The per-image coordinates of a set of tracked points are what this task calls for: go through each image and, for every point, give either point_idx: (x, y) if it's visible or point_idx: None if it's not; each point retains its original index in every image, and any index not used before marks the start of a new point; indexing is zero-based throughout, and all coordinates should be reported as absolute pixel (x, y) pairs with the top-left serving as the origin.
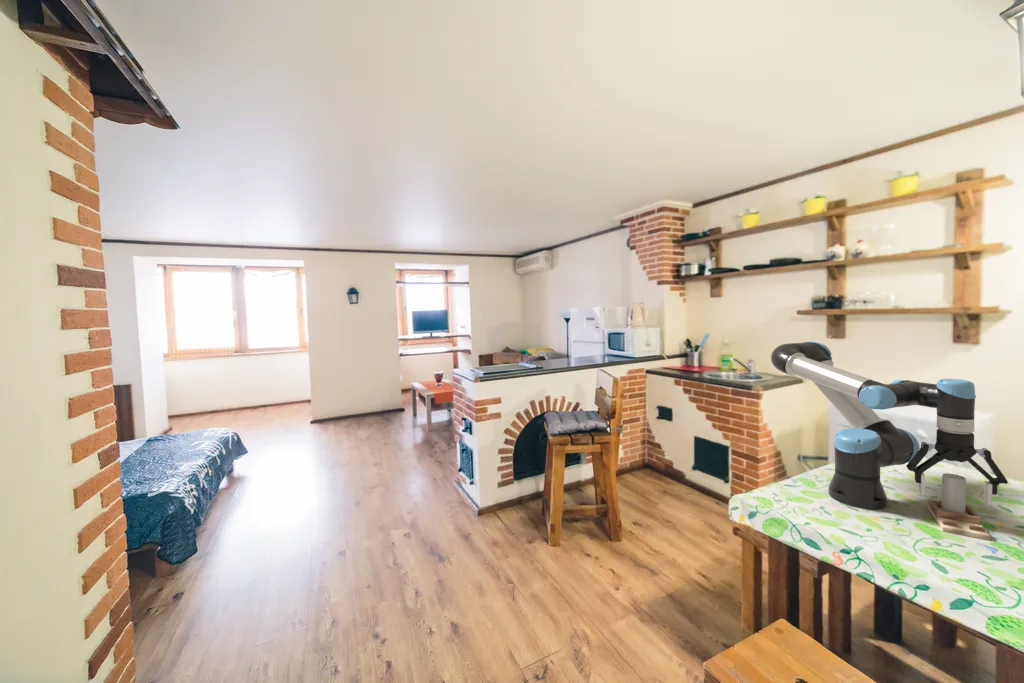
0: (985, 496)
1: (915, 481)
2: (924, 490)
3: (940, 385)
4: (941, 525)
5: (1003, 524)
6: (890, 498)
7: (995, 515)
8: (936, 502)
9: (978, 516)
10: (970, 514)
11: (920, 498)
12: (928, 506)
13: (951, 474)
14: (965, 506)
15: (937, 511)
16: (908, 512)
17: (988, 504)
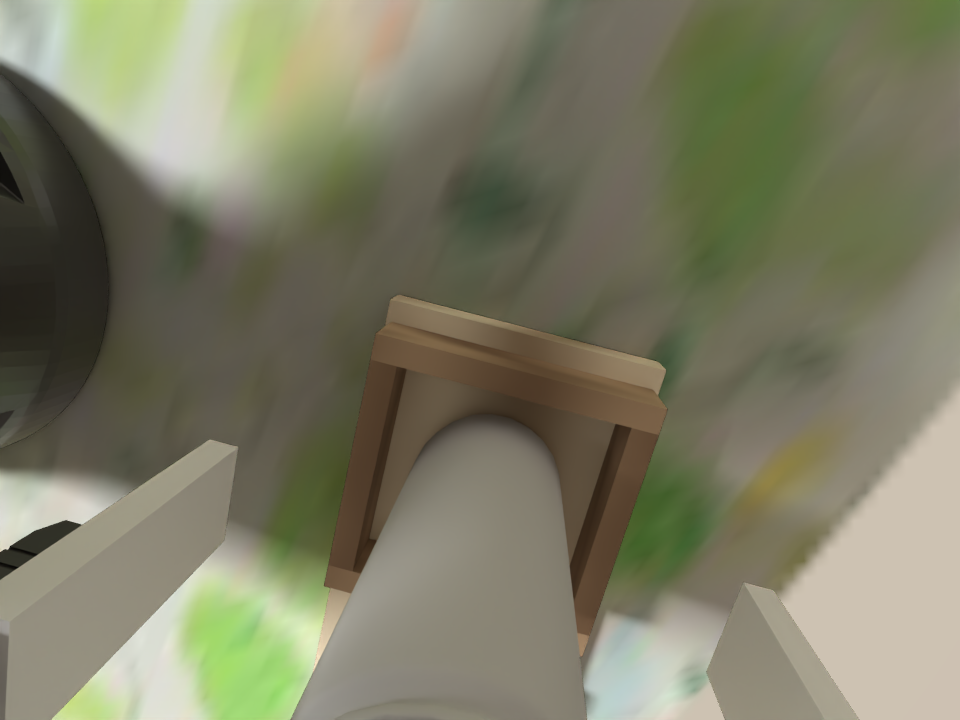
0: (761, 675)
1: (62, 531)
2: (188, 574)
3: None
4: (314, 667)
5: (801, 480)
6: (172, 158)
7: (876, 312)
8: (419, 369)
9: (589, 628)
10: (593, 511)
11: (436, 67)
12: (387, 323)
13: (457, 718)
14: (623, 422)
15: (328, 581)
16: (217, 434)
17: (715, 684)
